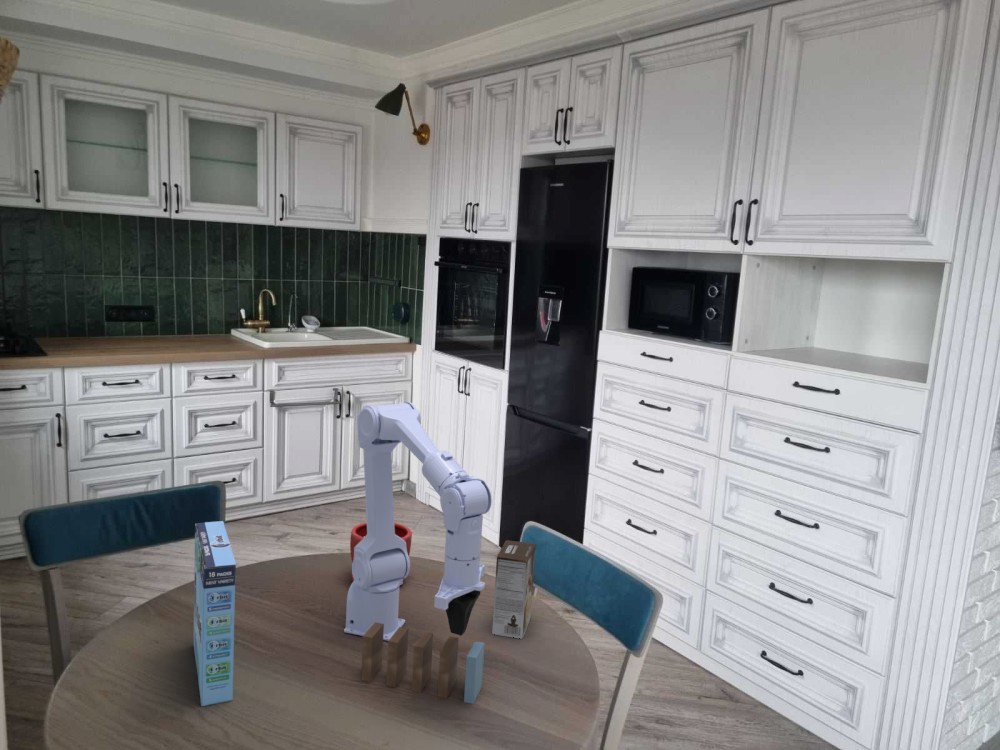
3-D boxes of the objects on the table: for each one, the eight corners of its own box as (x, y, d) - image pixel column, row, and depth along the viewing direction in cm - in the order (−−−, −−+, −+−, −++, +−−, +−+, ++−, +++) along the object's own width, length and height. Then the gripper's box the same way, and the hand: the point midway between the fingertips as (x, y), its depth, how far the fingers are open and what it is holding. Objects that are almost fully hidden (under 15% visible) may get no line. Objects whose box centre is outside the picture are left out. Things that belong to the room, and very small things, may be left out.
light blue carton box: (193, 645, 128) (193, 522, 125) (223, 640, 130) (224, 519, 127) (200, 708, 111) (200, 567, 107) (235, 701, 113) (237, 563, 110)
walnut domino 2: (386, 685, 120) (388, 640, 118) (397, 669, 124) (399, 626, 123) (395, 687, 119) (397, 642, 118) (406, 671, 124) (408, 628, 123)
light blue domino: (463, 702, 117) (466, 656, 115) (472, 685, 121) (475, 641, 120) (473, 703, 116) (476, 658, 115) (481, 687, 121) (484, 642, 120)
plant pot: (405, 596, 152) (408, 542, 150) (343, 593, 151) (345, 539, 150) (412, 570, 165) (414, 520, 163) (354, 567, 164) (356, 517, 163)
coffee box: (500, 613, 147) (505, 538, 145) (531, 618, 146) (536, 543, 144) (491, 635, 138) (496, 555, 136) (523, 640, 137) (529, 560, 135)
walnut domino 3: (411, 691, 119) (413, 645, 117) (422, 674, 123) (424, 631, 122) (420, 692, 118) (423, 647, 117) (430, 676, 123) (433, 633, 122)
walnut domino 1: (361, 680, 121) (363, 636, 119) (373, 665, 125) (375, 622, 124) (370, 682, 120) (371, 637, 119) (382, 666, 125) (383, 623, 124)
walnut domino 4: (437, 696, 118) (440, 650, 116) (447, 679, 122) (449, 636, 121) (446, 698, 117) (449, 652, 116) (456, 681, 122) (458, 637, 121)
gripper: (465, 576, 108) (460, 659, 110) (502, 544, 121) (497, 619, 123) (424, 565, 110) (419, 647, 113) (464, 535, 124) (460, 609, 126)
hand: (457, 632), depth 118 cm, fingers closed
